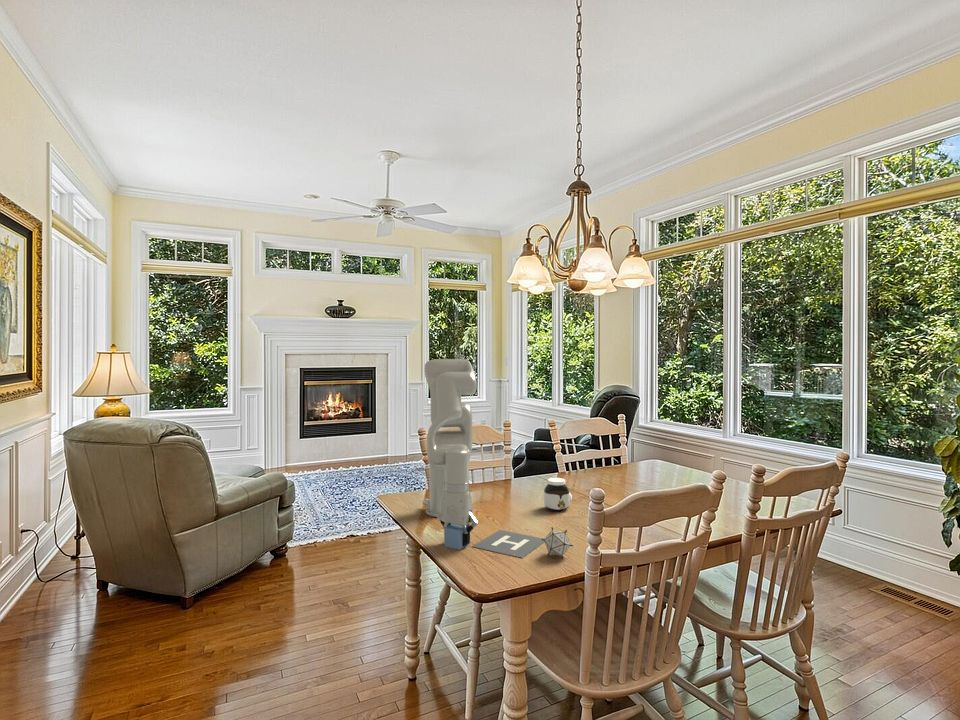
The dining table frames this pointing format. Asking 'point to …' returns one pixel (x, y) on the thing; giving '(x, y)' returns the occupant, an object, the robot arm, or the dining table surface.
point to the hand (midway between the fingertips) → (457, 542)
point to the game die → (557, 542)
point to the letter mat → (509, 543)
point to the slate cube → (454, 536)
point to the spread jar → (557, 495)
